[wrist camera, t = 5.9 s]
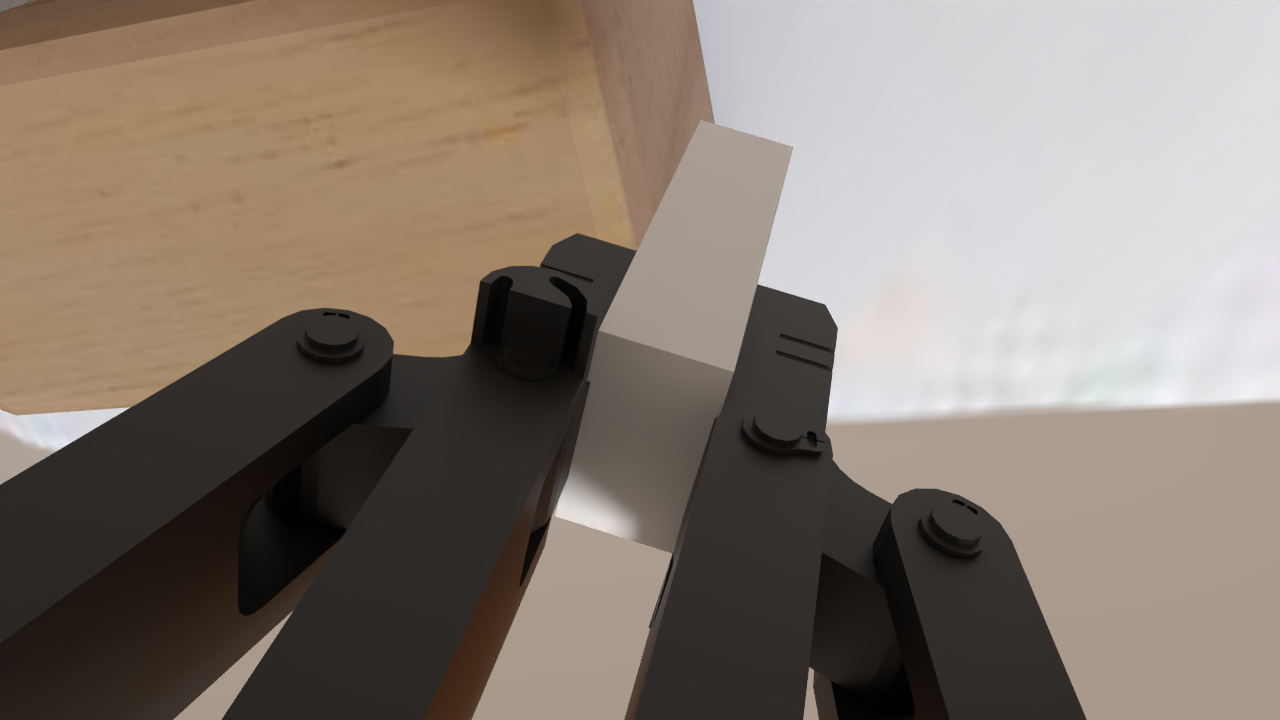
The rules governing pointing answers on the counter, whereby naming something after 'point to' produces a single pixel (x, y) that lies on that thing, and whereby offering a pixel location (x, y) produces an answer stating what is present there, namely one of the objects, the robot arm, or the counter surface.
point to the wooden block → (309, 168)
